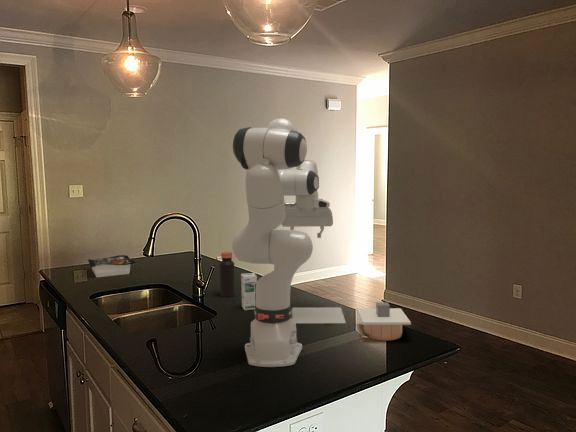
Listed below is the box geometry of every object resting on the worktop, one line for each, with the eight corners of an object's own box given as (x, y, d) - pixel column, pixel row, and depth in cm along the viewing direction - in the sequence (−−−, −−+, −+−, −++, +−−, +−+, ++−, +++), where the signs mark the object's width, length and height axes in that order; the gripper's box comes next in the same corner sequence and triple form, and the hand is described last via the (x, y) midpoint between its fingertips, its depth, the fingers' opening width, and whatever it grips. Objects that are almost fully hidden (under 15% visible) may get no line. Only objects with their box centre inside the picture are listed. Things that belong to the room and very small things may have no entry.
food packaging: (135, 261, 267) (91, 266, 257) (136, 275, 268) (92, 279, 258) (127, 254, 289) (86, 258, 279) (128, 267, 290) (87, 271, 280)
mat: (345, 325, 180) (345, 323, 180) (292, 325, 181) (292, 323, 180) (340, 309, 200) (340, 307, 200) (292, 309, 200) (292, 307, 200)
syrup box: (244, 310, 200) (243, 276, 199) (241, 306, 206) (241, 273, 204) (257, 309, 202) (257, 275, 200) (254, 305, 207) (254, 272, 206)
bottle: (236, 293, 227) (235, 251, 225) (233, 297, 220) (232, 254, 218) (222, 293, 227) (221, 251, 225) (218, 297, 221) (217, 253, 219)
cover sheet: (410, 324, 163) (411, 310, 162) (363, 324, 163) (363, 310, 162) (400, 310, 178) (400, 297, 178) (357, 310, 179) (357, 297, 178)
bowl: (405, 340, 165) (405, 323, 164) (366, 340, 165) (367, 323, 164) (397, 327, 177) (397, 311, 177) (361, 327, 178) (361, 311, 177)
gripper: (280, 203, 186) (280, 239, 187) (333, 203, 185) (333, 238, 187) (280, 202, 192) (280, 236, 193) (332, 201, 192) (332, 236, 193)
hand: (307, 237), depth 190 cm, fingers open, 8 cm apart
